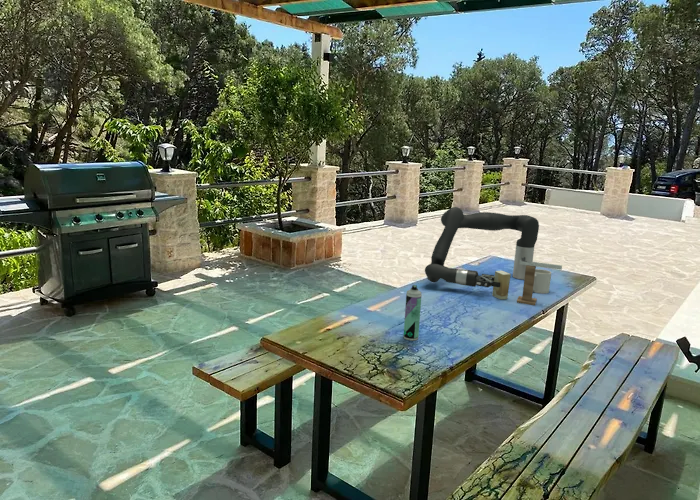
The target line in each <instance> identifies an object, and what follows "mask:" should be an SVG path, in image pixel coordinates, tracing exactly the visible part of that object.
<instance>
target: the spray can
mask: <svg viewBox="0 0 700 500" xmlns="http://www.w3.org/2000/svg"><path fill="white" fill-rule="evenodd" d="M421 306H422V291H420V290H419V289H418V286H417V284H416V285H415V284H413V285H411V287H410V289H408V290H406V295H405V308H404V324H403V339H404V340H406V341H411V342H412V341H413V342H414V341H418V340H419V335H420V319H421Z"/></svg>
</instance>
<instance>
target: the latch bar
mask: <svg viewBox="0 0 700 500" xmlns="http://www.w3.org/2000/svg"><path fill="white" fill-rule="evenodd" d="M525 260H526V258H525V257H522V259H521V260H520V262H519V264H522V265H529V266H536V268H537V267H539V268H544V269H545V268H546V269H552V270H560V271H561V270H562V269H563V265H562V264H561V265H560V264H552V263H546V262H545V263H544V262H540V261H539V262H537V261H533V262H531V261H525Z"/></svg>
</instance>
